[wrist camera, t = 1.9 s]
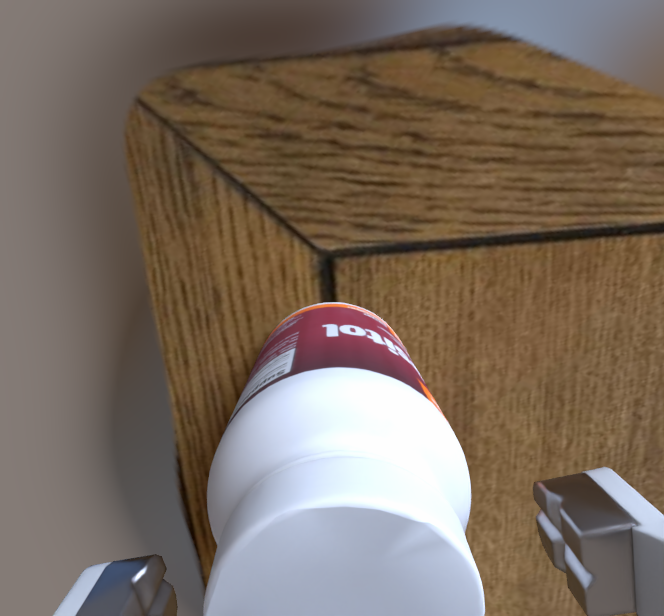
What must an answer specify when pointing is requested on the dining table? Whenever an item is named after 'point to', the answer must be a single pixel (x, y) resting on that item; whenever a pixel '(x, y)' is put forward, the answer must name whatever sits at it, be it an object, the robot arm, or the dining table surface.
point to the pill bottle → (339, 482)
